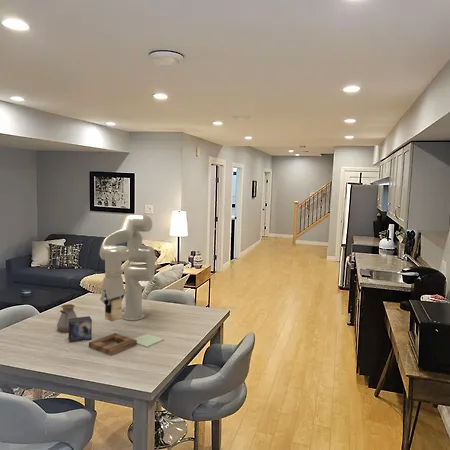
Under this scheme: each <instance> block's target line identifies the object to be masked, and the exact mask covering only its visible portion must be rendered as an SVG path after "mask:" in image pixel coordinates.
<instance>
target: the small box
mask: <svg viewBox="0 0 450 450" xmlns="http://www.w3.org/2000/svg"><path fill="white" fill-rule="evenodd" d="M92 322H93V319H92V317H91V316H90V315H89V316H88V315H87V316H80V317H79V316H77V318H69V332H68V336H67V338H68V340H69V342H70V343H75V342H76V343H77V342H82V341H83V340H84V341H89V340H90V339H91V340H92V337H93V336H92V334H93V333H92V327H93V326H92V325H93V323H92ZM91 340H90V341H91Z"/></svg>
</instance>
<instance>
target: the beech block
mask: <svg viewBox="0 0 450 450" xmlns="http://www.w3.org/2000/svg"><path fill="white" fill-rule="evenodd" d="M107 302H108V301H107ZM122 302H123V299H122V298H118V297H116V298H113V299H111V302H110V305H111V313H107V312H106V310H105V309H104V319H105V320H107V321H110V322H116V321H119V320H121V319H123V315H122V314H123V312H122V309H123V308H122V307H123V304H122Z"/></svg>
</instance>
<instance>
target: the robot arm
mask: <svg viewBox="0 0 450 450" xmlns="http://www.w3.org/2000/svg"><path fill="white" fill-rule="evenodd" d="M152 228H153V220H152V218H151V217H150V216H148V215H146V214H143V213H142V214H140V213H126V214H124V215H122V217H121V218H120V221H119V223H118V227H117V228H116V231H113V232H112V233H110V234H109V235H108V236H106V237H105V238H104V239H103V241H102V243H101V246H100V249H99V258H100V259H101V260H102V261H104V267H105V268H104V271H105V273H104V276H105V277H103V279H102V280H103V281H102V286H101V296H100V298H99V301H101V302H102V303H103V304H104V311H105V310H106V312H107V313H111V305H110V302H111V299H113V298H116V297H118V298H122V300H123V299H124V297H125V301H124V303H125V304H124V305H125V307H123V308H122V313H123V315H122V319H123V320H124V321H140V320H143V319H144V318H145V313H143V312H142V311H143V310H142V308H143V305H142V304H143V299H142V298H143V287H142V285H141V283H140V282H152V281H153V280H154V278H155V270H156V269H155V266H156V265H155V264H156V263H155V262H156V261H155V260H156V259H155V258H156V252H155V249H154V247H152V246H148V245H145V246H144V245H143V235H141V233H140V232H143V233H146V232H147V233H148V232H150V231H151V230H152ZM124 243H127V245H121V244H124ZM125 261H128V262H132V263H136V264H128V265H126V266H125V267H124V269H123V270H122V262H125ZM137 263H145V264H137ZM122 273H123V275H124V277H123V276H122ZM124 283H125V287H124ZM107 301H108V302H107Z"/></svg>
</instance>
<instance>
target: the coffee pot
mask: <svg viewBox="0 0 450 450" xmlns="http://www.w3.org/2000/svg"><path fill="white" fill-rule="evenodd" d="M75 306H76V305H75V304H68V303H67V304H63V305H61V308H62V310H60V311H59V312H60V313H61V314H59V312H58V315H60V317H59V319H58V320H57V321H58V322H57V323H56V327H57V329H58V330H60V331H61V332H63V333H66V332H67V333H69V318H78V316H77V314H76V312H75V309H74V308H75Z"/></svg>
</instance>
